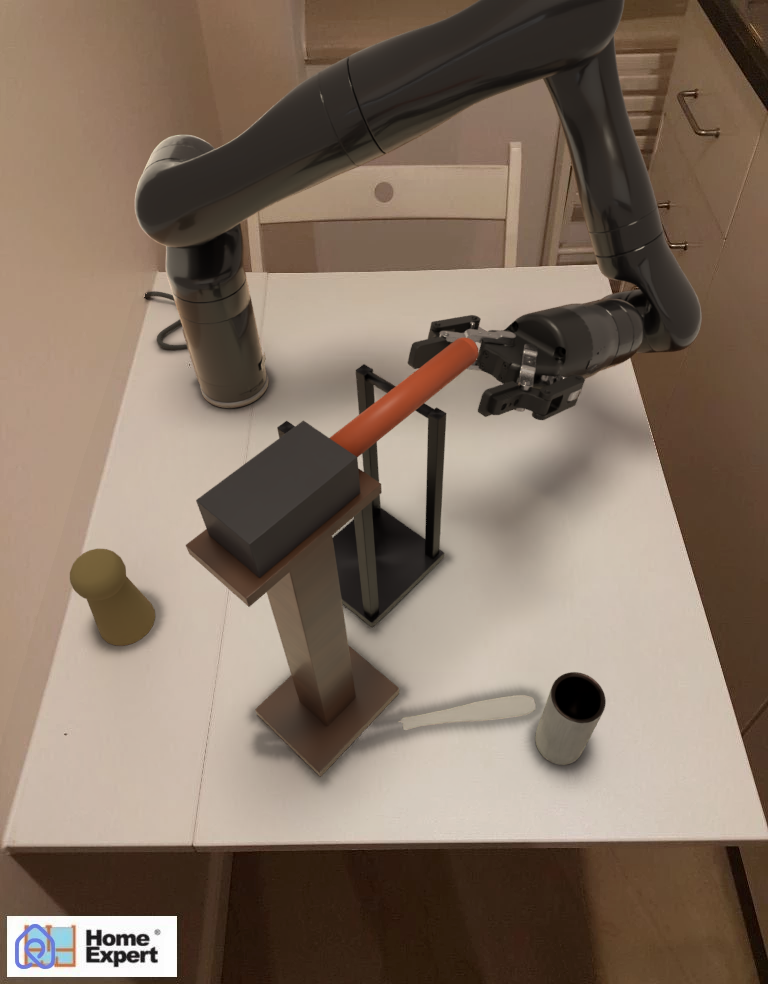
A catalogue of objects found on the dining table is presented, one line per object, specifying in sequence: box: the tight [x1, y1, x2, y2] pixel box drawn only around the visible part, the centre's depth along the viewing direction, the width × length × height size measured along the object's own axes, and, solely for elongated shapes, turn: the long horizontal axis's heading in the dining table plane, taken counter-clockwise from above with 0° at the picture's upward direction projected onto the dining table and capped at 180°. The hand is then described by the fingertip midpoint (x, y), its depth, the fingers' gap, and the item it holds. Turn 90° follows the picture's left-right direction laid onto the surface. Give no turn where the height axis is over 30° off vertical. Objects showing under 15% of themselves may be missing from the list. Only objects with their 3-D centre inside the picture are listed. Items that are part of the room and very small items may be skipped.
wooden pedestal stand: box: [185, 467, 400, 777], centre depth 59 cm, size 9×12×31 cm
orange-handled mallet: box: [195, 338, 479, 578], centre depth 49 cm, size 5×24×4 cm, turn 137°
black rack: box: [276, 363, 447, 628], centre depth 73 cm, size 11×12×23 cm
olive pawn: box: [69, 548, 156, 647], centre depth 74 cm, size 6×6×11 cm
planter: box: [534, 671, 607, 766], centre depth 64 cm, size 4×4×10 cm
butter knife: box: [397, 694, 537, 731], centre depth 70 cm, size 1×27×3 cm
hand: (446, 379), depth 60 cm, fingers open, 8 cm apart
